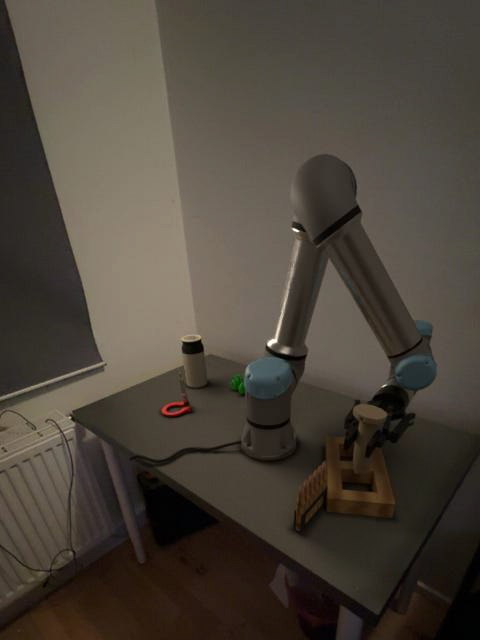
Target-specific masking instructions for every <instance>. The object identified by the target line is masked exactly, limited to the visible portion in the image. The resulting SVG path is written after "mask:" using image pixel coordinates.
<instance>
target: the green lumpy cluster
mask: <svg viewBox="0 0 480 640" xmlns="http://www.w3.org/2000/svg"><path fill="white" fill-rule="evenodd" d="M244 377H245V373H243V377H242V376H241V375H239V374H234V375H233V376H232V380H231V382H230V383H229V387H230V390H232V391H235V392H236V391H238V394H239V395H241V396H242V395H245V386H244ZM231 385H232V386H231Z"/></svg>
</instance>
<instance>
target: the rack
mask: <svg viewBox="0 0 480 640" xmlns="http://www.w3.org/2000/svg"><path fill="white" fill-rule="evenodd" d="M325 437H326V438H325V448H324V452H325V455H324V456H325V461H326V464H327V485H326V486H327V487H328V489H327V500H326V513H327V512H328V513H337V514H346V515H358V516H365V517H376V518H385V519H393V517H394V512H395V508H396V501H395V496H394V493H393V487H392V485H391V481H390V477H389V472H388V468H387V464H386V460H385V457H384V454H383V453H384V452H383V450H382V449H383V448H382V447H381V448H377V447H376V448H375V449H374V454H373V459H372V462H371V465H370V467H369V468H370V469H369V472H368V473H367V474H365V475H363V476H362V475H359V474H355V471H354V470H353V460H351V461H350V460H341V457H349V458H353V452H354V446H355V442H356V440H355V441H354V443H353V444H352V445H351V447H350V448H349V449H348V450H347V451H344V450H343V448H344V440H345V436H331V435H330V436H329V435H326V436H325ZM343 483H352V484H364V485H370V486H371V491H362V490H351V489H343Z"/></svg>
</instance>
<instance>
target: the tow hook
mask: <svg viewBox="0 0 480 640" xmlns="http://www.w3.org/2000/svg"><path fill="white" fill-rule="evenodd" d="M178 376H179V384H180V390H181V393H182V394H181V396H182V401H180V402H179V401H178V402H177V401H175V402H171V403H168V404H166V405H164V406H163V407H162V408H161V414H162V415H163V416H165V417H170V418H171V417H178V416H181V415H183V414H185V413H186V412H187V413H191V412H192V408H191V406H190V402H189V397H188V393H187V391H186V387H185V381H184V378H183V375H182V372H181V371H179V372H178ZM172 407H173V408H174V407H180V408H181V409H180V410H178V411H175V412H170V411H168V410H169V409H170V408H172Z"/></svg>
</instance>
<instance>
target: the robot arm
mask: <svg viewBox="0 0 480 640" xmlns="http://www.w3.org/2000/svg"><path fill="white" fill-rule="evenodd" d="M357 190H358V184H357V178H356V175H355V173H354V171H353V169H352V167H350V166H349V165H348V163H346V162H345V161H344V160H341V159H340V158H339V157H338V156H335V155H334V154H328V153H321V154H316V155H314V156H312V157H310V158H308V159H307V160H306V161H304V162H303V164H301V165H300V166H299V168H298V169H297V171H296V173H295V175H294V176H293V179H292V182H291V186H290V192H289V196H290V204H291V209H292V211H293V217H292V222H291V226H290V229H291V231H292V233H293V235H294V236H295V239H294V244H293V248H292V252H291V256H290V262H289V266H288V270H287V274H286V278H285V284H284V288H283V293H282V297H281V301H280V305H279V310H278V314H277V319H276V323H275V327H274V333H273V335H272V336H271V337H269V338H268V339H267V340H266V342H265V347H264V352H263V356H262V357H261V358H259V359H258V360H257V359H255V360H253V361H252V362H250V363H249V364H248V365H247V367H246V368H245V371H244V374H245V377H244V376H243V381H244V382H243V384H244V386H245V393H244V397H245V399H244V400H245V416H246V422H245V424H244V428H243V430H242V434H241V437H240V440H237V441H231V442H228V443H223V444H219V445H216V446H212V447H211V446H210V447H199V446H190V447H184V448H181V449H179V450H177V451H176V452H174V453H172V454H171V455H169V456H168V457H165V458H161V459H155V458H151V457H148V456H146V455H142V454H133V455H132V456H130V457H129V461H134V459H143V460H145V461H147V462H150V463H155V464H161V463H166V462H169V461H170V460H172V459H174V458H175V457H177V456H179V455H180V454H182V453H185V452H189V451H200V452H211V451H217V450H220V449H224V448H228V447H231V446H236V445H240V448H241V450H242V452H243V453H244V454H245V455H246V456H248V457H250V458H252V459H253V460H256V461H257V460H258V461H262V462H273V461H274V462H275V461H279V460H280V461H281V460H283V459H286V458H288V457H290V456H291V455H293V453H294V452H295V451H296V449H297V432H296V429H294V427H293V425H292V422H291V415H292V414H291V411H292V397H293V394H294V392H295V390H296V388H297V386H298V384H299V382H300V380H301V378H302V377H303V375H304V373H305V369H306V360H307V356H308V353H309V348H308V346H307V344H306V340H307V336H308V333H309V329H310V326H311V322H312V319H313V315H314V312H315V309H316V306H317V303H318V298H319V295H320V292H321V291H320V290H321V287H322V283H323V280H324V278H325V277H324V276H325V274H326V270H327V266H328V264H329V260H330V262H331V263H332V265H333V267H334V269H335V271H336V272H337V274H338V276H339V277H340V279H341V280H342V282H343V285H344V286H345V288H346V289H347V291H348V292H349V294H350V296H351V298H352V299H353V302H354V303H355V304H356V305H357V306H356V307H357V308H358V309H359V311H360V313H361V314H362V316H363V318H364V320H365V322H366V324H367V325H368V327H369V329H370V330H371V332H372V333H373V335H374V337H375V338H376V340H377V342H378V343H379V346H380V347H381V349H382V350H383V352H384V354H385V356H386V357H387V360H388V362H389V363H390V368H389V373H388V378H387V380H385V382H384V383H383V384H382V385H381V386H380V388H379V389H378V391H376V393H375V394H374V395H373V396H372V397H371V399H370V400H368V401H367V402H361V400H360V399H355V400H354V402H353V406H352V408H351V409H350V410H349V412H348V413H347V415H346V416H345V418H344V425H343V429H344V430H345V436H344V437H345V440H344V448H343V450H344V451H347V450H348V449H349V448H350V447H351V445H352V444H353V443H354V441H355V440H356V437H357V432H358V428H359V421H358V420H357V419H356V417H355V416H354V415H353V409H354V407H355V406H356V405H359V404H368V405H373V406H376V407H378V408H381V409H382V410H384V411H385V412H386V413H387V419H386V421H385V422H384V423H383V425H382V429H376V433H375V434H374V436H373V437H372V438H371V440H370V441H369V443H368V444H367V446H366V452H365V457H366V458H369V457H370V455H371V454H372V452H373V451H374V449H375V448H376V447H377V448H381V449H382V448H383V446H384V444H385V443H386V442H388V441H390V443H392V444H396V443H398V441H399V440H400V439H401V438H402V436H403V435H404V433H405V432H406V430H407V429H408V428H409V427H411V426H413V425H414V424H415V420H416V416H417V414H416V413H415V412H409V413H407V412H406V410H407V409H408V407H409V405H410V404H411V402H412V401H413V399H414V397H415V396H416V394H417V392H418V391H422V390H424V389H426V388H428V387H430V386H431V385H432V384H433V383H434V381H435V380H436V377H437V374H438V371H437V370H438V369H437V368H438V364H437V362H436V361H435V358H434V355H433V352H432V347H431V340H432V338H433V331H434V325H433V324H432V323H431V322H429V321H425V320H420V319H413V317H412V316H411V314H410V311H409V309H408V308H407V306H406V305H405V303H404V301H403V298H402V297H401V295H400V293H399V291H398V290H397V288H396V286H395V284H394V282H393V280H392V278H391V277H390V275H389V272H388V271H387V269H386V267H385V265H384V264H383V262H382V260H381V258H380V256H379V254H378V252H377V250H376V249H375V247H374V245H373V243H372V241H371V239H370V237H369V235H368V234H367V232H366V230H365V228H364V226H363V225H362V218H363V211H362V209H361V208H360V205H359V203H358V201H357V199H356V198H357V195H358V191H357ZM398 420H399V422H397V424H396V426H395V427H394V428H393V429H392V431H390V426H391V422H395V421H398Z"/></svg>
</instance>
